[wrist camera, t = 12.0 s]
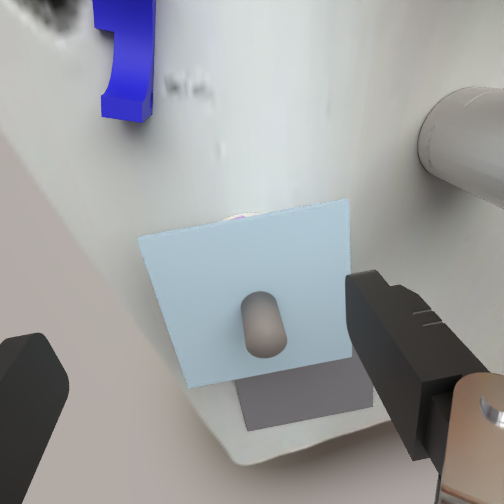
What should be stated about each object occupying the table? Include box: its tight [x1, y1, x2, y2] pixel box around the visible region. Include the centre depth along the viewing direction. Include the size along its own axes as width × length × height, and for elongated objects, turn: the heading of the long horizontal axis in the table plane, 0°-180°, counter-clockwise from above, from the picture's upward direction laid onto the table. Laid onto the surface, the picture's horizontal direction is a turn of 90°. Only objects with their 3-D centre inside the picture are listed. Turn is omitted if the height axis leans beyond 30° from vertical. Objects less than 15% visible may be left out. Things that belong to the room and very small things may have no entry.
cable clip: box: [92, 0, 156, 123], centre depth 27 cm, size 12×4×6 cm, turn 171°
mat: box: [235, 345, 373, 431], centre depth 50 cm, size 20×20×1 cm
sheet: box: [137, 199, 352, 389], centre depth 32 cm, size 18×18×6 cm
